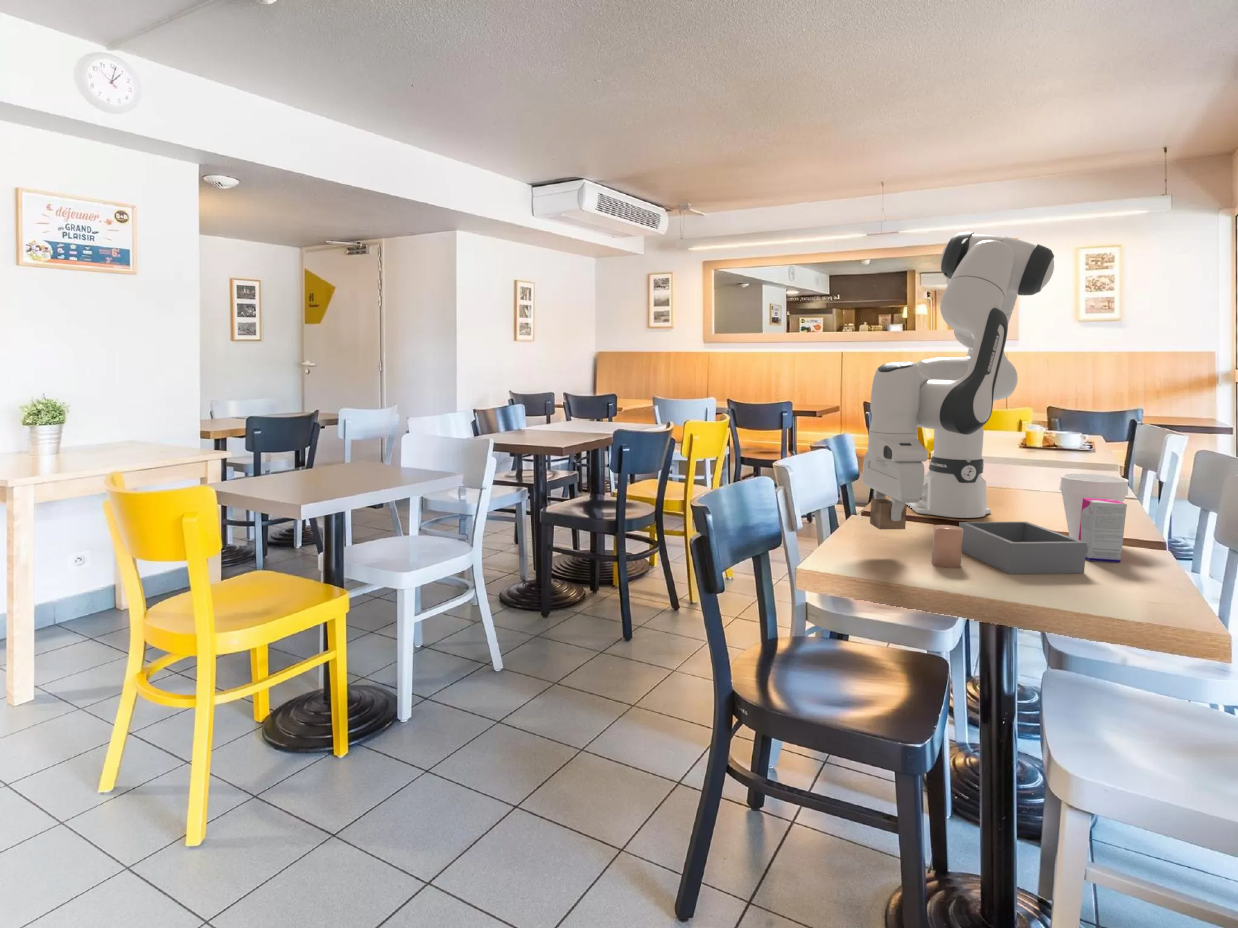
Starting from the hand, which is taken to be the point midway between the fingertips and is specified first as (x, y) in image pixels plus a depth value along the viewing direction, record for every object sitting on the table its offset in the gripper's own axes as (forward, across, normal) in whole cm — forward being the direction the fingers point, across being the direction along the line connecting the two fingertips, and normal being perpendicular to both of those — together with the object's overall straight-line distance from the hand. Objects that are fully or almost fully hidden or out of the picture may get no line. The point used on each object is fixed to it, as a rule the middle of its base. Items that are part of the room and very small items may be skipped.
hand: (887, 516), depth 145 cm
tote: (+8, +6, +23) cm, 25 cm away
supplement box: (+8, +4, +40) cm, 41 cm away
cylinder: (+8, +8, +8) cm, 14 cm away
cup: (+8, -10, +48) cm, 50 cm away
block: (+2, 0, 0) cm, 2 cm away
